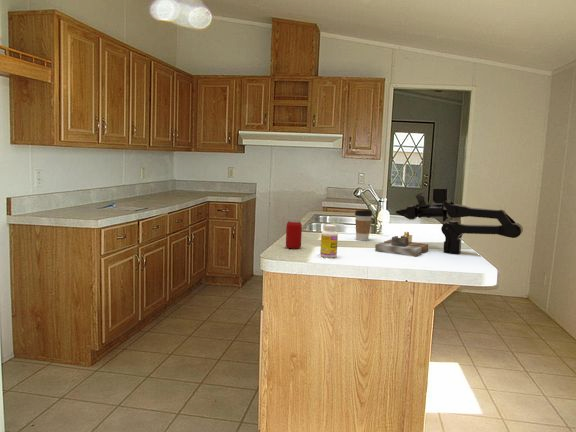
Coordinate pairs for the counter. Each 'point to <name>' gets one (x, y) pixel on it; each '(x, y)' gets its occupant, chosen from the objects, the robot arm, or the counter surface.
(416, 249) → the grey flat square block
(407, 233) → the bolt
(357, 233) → the coffee cup
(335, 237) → the supplement bottle
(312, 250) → the counter surface
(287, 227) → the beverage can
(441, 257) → the counter surface
